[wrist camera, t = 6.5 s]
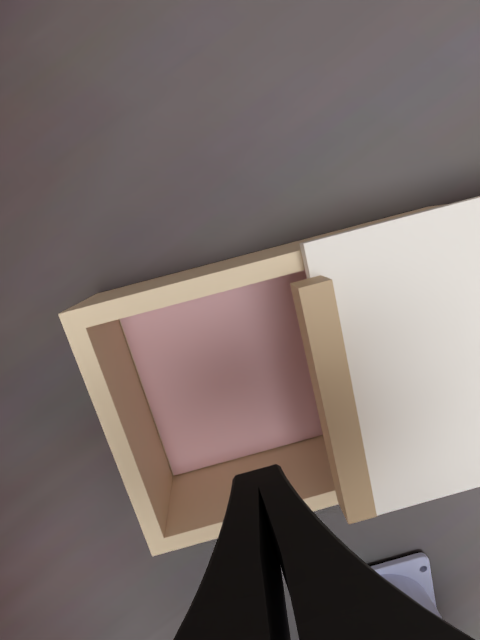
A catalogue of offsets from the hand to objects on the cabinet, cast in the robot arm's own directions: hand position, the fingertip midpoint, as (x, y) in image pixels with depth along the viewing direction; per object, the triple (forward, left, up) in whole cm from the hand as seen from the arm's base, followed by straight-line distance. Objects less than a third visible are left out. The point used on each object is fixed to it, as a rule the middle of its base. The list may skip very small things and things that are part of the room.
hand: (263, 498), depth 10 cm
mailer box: (0, -3, -10) cm, 11 cm away
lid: (0, -13, -5) cm, 14 cm away
